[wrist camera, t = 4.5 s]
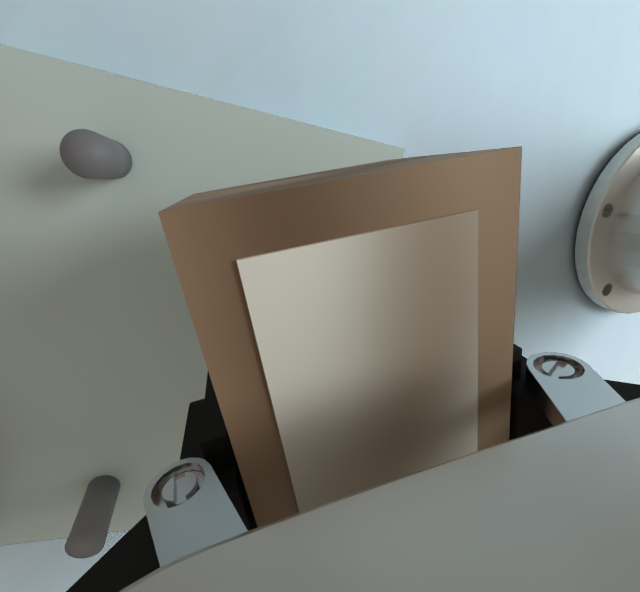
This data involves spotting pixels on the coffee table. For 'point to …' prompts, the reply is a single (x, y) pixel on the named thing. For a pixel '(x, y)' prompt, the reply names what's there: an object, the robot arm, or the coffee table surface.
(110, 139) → the wall board
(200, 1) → the coffee table surface
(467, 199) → the wooden box
